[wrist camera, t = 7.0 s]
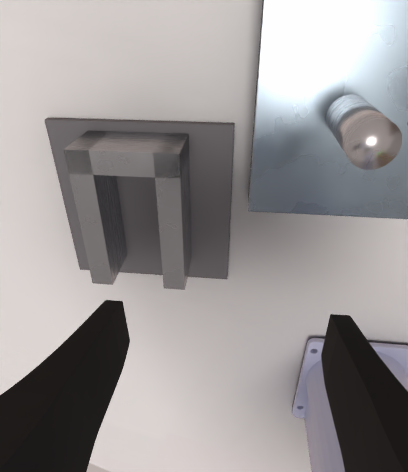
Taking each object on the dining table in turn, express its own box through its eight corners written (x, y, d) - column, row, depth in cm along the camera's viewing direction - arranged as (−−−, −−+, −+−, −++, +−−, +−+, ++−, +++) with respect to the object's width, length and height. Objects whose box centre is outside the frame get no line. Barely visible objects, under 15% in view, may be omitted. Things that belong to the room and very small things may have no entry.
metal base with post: (394, 201, 20) (443, 267, 15) (248, 194, 21) (248, 255, 16) (465, -22, 14) (581, -37, 9) (264, -21, 15) (271, -34, 10)
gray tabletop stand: (191, 258, 23) (184, 289, 20) (109, 253, 23) (92, 283, 21) (188, 133, 19) (179, 153, 16) (87, 130, 19) (63, 149, 17)
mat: (227, 275, 24) (227, 279, 24) (82, 265, 25) (80, 269, 24) (234, 123, 18) (233, 125, 18) (48, 117, 19) (44, 119, 19)
